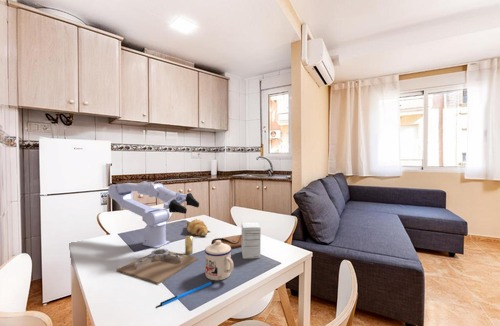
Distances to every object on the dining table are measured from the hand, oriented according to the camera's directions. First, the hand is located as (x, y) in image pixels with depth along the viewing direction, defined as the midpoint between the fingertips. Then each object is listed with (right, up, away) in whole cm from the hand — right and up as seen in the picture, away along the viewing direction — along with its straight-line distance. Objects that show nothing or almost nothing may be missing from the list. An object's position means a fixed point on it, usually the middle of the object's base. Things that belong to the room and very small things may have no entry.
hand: (192, 208), depth 97 cm
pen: (+6, -20, -29) cm, 36 cm away
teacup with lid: (+14, -19, -19) cm, 31 cm away
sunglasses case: (+16, -19, +8) cm, 27 cm away
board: (-9, -19, -11) cm, 24 cm away
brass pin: (-1, -19, -1) cm, 19 cm away
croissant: (-5, -19, +27) cm, 33 cm away
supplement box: (+25, -19, -2) cm, 31 cm away
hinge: (-10, -18, -11) cm, 24 cm away
